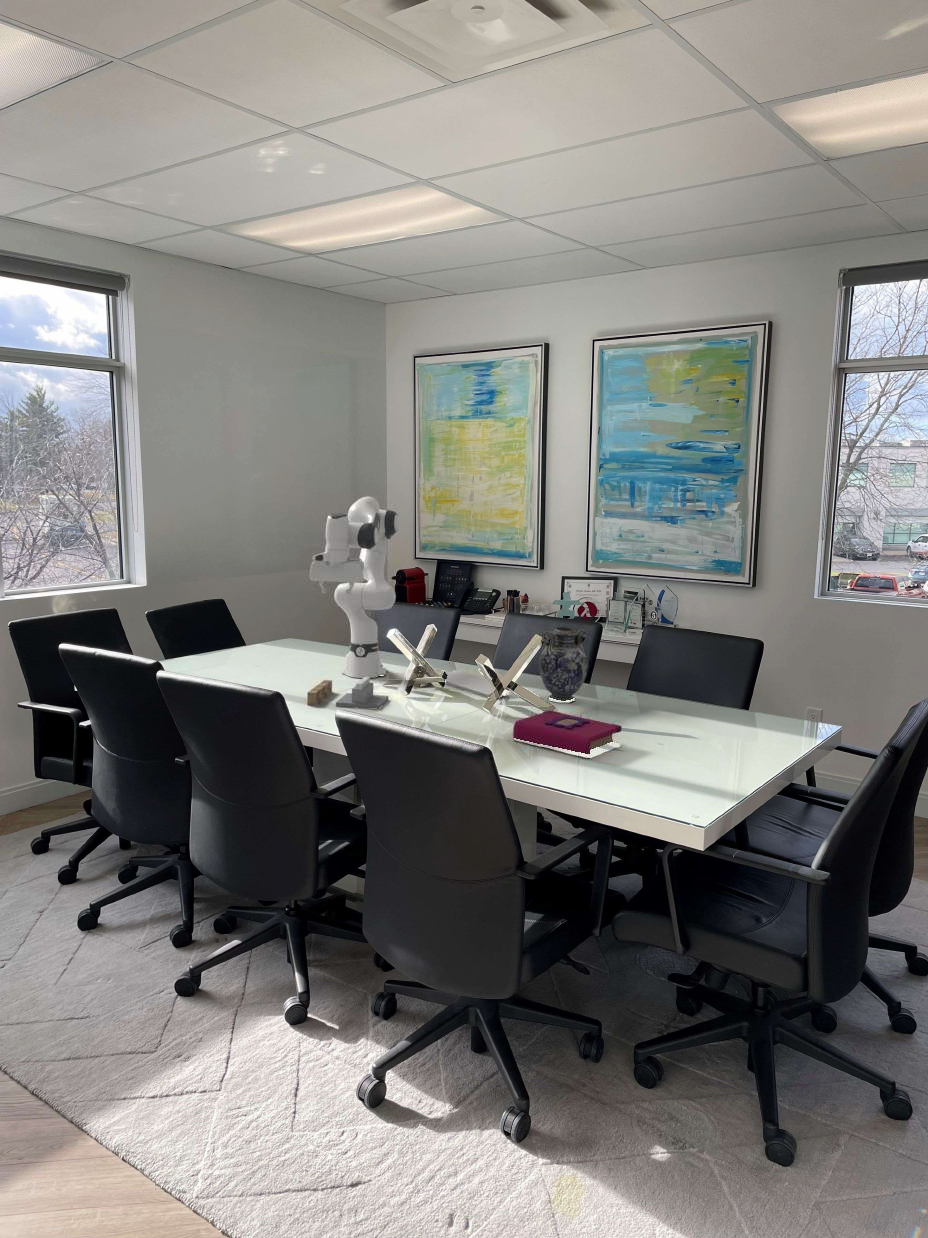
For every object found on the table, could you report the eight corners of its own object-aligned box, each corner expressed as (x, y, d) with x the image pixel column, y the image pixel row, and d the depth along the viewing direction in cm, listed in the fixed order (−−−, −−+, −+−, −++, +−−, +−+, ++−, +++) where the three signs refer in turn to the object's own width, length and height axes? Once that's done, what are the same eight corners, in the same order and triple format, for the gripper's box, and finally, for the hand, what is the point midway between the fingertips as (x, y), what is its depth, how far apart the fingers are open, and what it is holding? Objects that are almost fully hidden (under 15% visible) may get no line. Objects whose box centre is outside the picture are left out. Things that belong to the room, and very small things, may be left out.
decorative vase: (567, 692, 359) (571, 623, 354) (598, 702, 343) (602, 630, 339) (524, 697, 347) (528, 626, 342) (554, 709, 332) (558, 634, 327)
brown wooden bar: (324, 692, 346) (324, 679, 345) (331, 693, 345) (332, 680, 345) (307, 705, 324) (307, 692, 323) (315, 706, 324) (315, 692, 323)
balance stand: (347, 697, 338) (347, 675, 337) (388, 699, 336) (388, 677, 335) (335, 706, 324) (336, 683, 322) (379, 709, 321) (379, 686, 320)
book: (587, 761, 269) (589, 737, 268) (512, 742, 286) (513, 719, 285) (622, 747, 285) (623, 724, 284) (548, 730, 302) (549, 708, 301)
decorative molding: (490, 706, 344) (509, 696, 349) (487, 694, 343) (507, 685, 348) (438, 688, 371) (457, 680, 376) (436, 678, 369) (455, 669, 375)
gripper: (366, 557, 337) (365, 594, 339) (313, 555, 340) (313, 591, 342) (361, 558, 331) (361, 595, 333) (308, 556, 334) (307, 593, 336)
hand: (336, 593), depth 337 cm, fingers open, 8 cm apart
